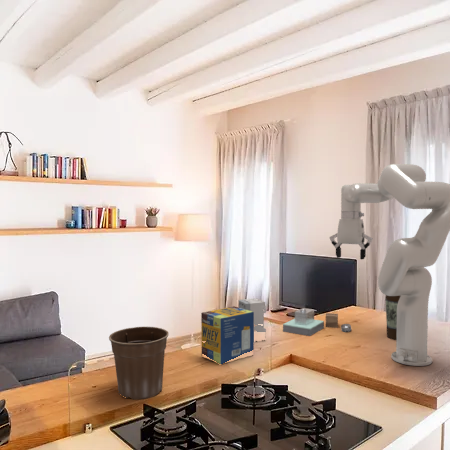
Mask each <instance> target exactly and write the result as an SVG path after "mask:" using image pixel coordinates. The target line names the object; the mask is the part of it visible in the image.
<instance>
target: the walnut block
mask: <svg viewBox="0 0 450 450" xmlns="http://www.w3.org/2000/svg"><path fill="white" fill-rule="evenodd" d="M325 328H331V329H333V328H334V329H338V328H339V313H334V312H333V313H330V312H326V313H325Z"/></svg>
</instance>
